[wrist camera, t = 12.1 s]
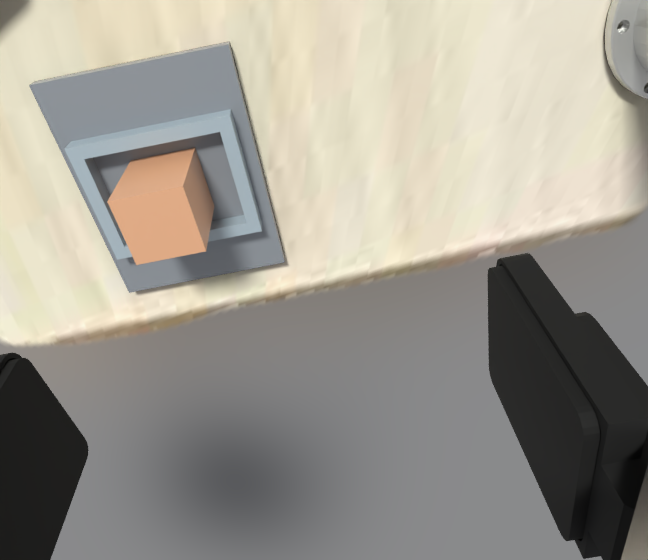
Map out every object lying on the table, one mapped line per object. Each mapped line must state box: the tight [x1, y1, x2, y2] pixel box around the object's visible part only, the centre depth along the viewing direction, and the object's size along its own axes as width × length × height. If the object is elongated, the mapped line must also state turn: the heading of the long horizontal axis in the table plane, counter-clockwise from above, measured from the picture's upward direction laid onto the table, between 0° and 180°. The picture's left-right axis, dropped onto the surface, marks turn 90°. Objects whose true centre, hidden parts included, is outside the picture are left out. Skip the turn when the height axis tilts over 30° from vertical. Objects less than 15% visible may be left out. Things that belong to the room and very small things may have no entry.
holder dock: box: [29, 42, 285, 293], centre depth 41 cm, size 14×18×2 cm
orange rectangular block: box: [107, 148, 214, 265], centre depth 38 cm, size 5×5×7 cm
